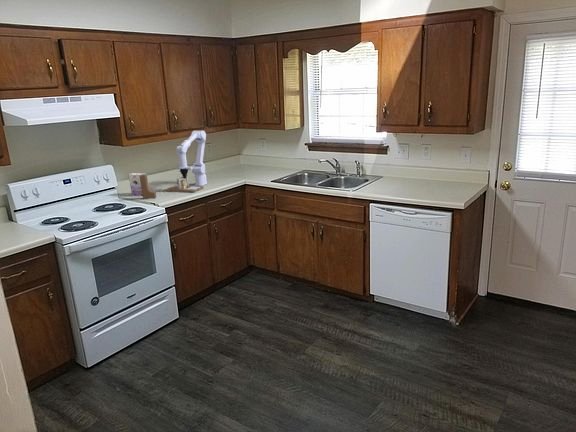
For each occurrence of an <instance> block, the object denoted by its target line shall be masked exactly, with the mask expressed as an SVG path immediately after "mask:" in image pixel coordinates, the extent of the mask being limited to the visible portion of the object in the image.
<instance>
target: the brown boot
mask: <svg viewBox="0 0 576 432" xmlns="http://www.w3.org/2000/svg"><path fill="white" fill-rule="evenodd" d="M139 177H140V183H141V189H142V195H141V196H142V200H149V199H148V198H153V199H156V198H157V192H156V191H155V190H151V189H150V187H149V181H148V175H147V173H143V174H142V175H140V176H139Z"/></svg>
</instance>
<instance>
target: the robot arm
mask: <svg viewBox="0 0 576 432" xmlns="http://www.w3.org/2000/svg"><path fill="white" fill-rule="evenodd" d="M206 138H207V133H206V131H205V130H193V131H192V132H191V134H190V136H188V139H184V140H183V141H182V143H180V145H178V146H176V148H175V149H176V150H175V152H176V154H177V156H178V157H177V158H178V164H179V165H178V166H175V167H174V168H175V170H179V173H181V175H182V176H183V178H184V179H183V180H185V179H186V178H187V175H188V172H189V170H191V171H192V173H193V175H194V178H195V179H194V180H195V184H193V186H202V187H204V186H205V185H208V181H207V175H206V165H205V163H204V156H205V155H204V154H205V149H206V148H205V147H206V146H205V145H206ZM194 141H196V142H197V143H198V144H197V152H196V158H195V162H194V163H193V164H192V166H188V161H187V155H186V153H187V151H188V148H190V147H191V145H192V143H193V142H194ZM182 176H181V177H182Z"/></svg>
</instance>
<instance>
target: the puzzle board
mask: <svg viewBox="0 0 576 432" xmlns="http://www.w3.org/2000/svg"><path fill="white" fill-rule="evenodd" d="M190 187H200V188H198V189H196V190H186V189H188V188H190ZM186 189H178V185H173V186H171V187H168V188H166V189H164V192H168V193H189V194H190V193H191V194H195V193H197V192H199V191H201V190H203V189H204V186H194V185H189V186H187V188H186Z"/></svg>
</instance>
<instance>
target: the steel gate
mask: <svg viewBox="0 0 576 432" xmlns="http://www.w3.org/2000/svg"><path fill="white" fill-rule="evenodd" d="M181 180H186V183H187V186H190V183H189V177H188V174H187V178H186V179H184V178H183V176H180V177H177V178H176V184H177V185H176V186H178V189H181V183H180V181H181Z"/></svg>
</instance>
